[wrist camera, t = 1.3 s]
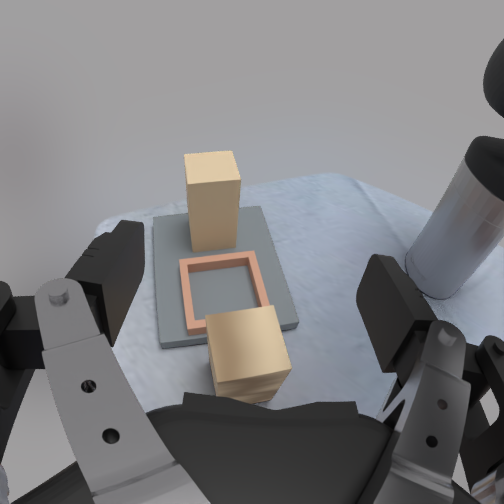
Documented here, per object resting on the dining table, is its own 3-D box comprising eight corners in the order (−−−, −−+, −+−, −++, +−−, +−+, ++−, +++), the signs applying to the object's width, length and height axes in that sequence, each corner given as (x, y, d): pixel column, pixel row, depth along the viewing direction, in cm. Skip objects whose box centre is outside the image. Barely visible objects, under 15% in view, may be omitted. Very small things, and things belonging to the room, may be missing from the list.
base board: (259, 213, 43) (269, 141, 34) (296, 327, 33) (325, 262, 24) (154, 225, 40) (142, 151, 31) (162, 348, 30) (137, 287, 21)
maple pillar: (259, 353, 31) (273, 305, 23) (271, 399, 28) (292, 368, 20) (209, 361, 30) (205, 315, 22) (218, 409, 27) (217, 382, 19)
